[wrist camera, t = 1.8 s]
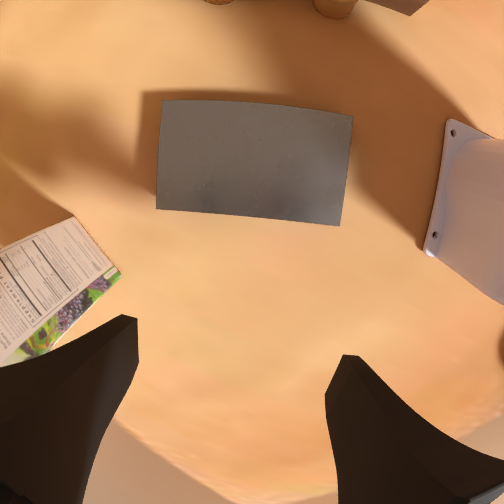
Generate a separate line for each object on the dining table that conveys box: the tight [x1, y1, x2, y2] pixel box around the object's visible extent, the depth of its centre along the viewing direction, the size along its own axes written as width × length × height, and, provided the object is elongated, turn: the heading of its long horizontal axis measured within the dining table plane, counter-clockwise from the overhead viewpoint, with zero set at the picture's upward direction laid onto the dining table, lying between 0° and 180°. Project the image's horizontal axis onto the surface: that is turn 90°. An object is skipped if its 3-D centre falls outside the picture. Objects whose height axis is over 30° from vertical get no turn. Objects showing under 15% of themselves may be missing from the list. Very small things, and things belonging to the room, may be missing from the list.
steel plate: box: [156, 100, 353, 226], centre depth 16 cm, size 6×10×2 cm, turn 85°
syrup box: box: [0, 217, 122, 367], centre depth 12 cm, size 6×6×14 cm
